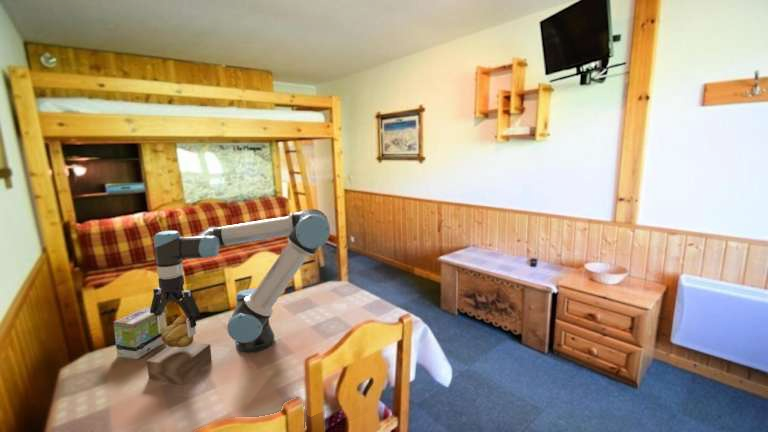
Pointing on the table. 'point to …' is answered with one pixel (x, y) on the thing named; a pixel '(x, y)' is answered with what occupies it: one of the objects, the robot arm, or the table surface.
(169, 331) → the bread roll
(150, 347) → the tea box
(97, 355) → the table surface
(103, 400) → the table surface
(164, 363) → the walnut block
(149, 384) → the table surface
